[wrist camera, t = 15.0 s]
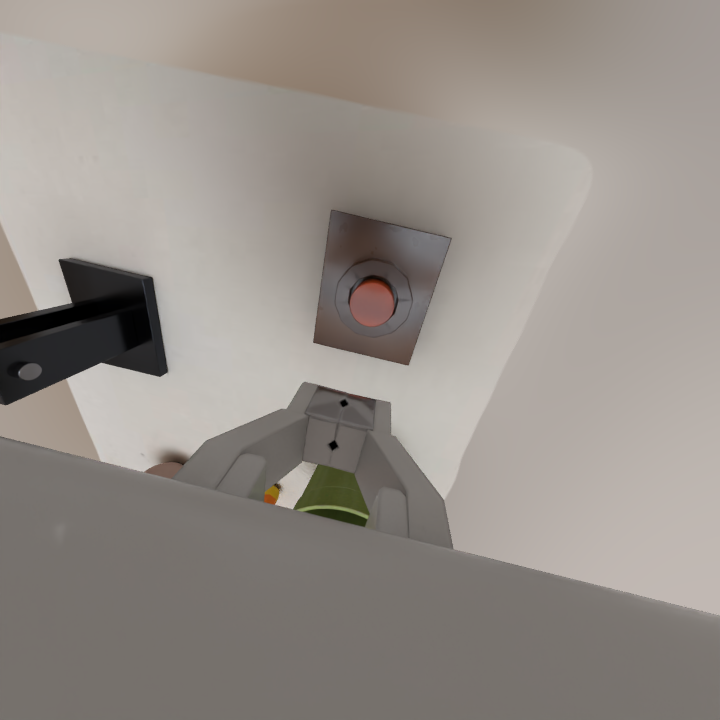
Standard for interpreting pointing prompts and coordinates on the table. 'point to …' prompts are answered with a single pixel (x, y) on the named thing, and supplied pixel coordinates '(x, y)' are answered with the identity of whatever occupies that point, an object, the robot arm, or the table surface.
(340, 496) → the plant pot
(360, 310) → the button
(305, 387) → the robot arm
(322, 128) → the table surface
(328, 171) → the table surface
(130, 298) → the bracket
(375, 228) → the button block
